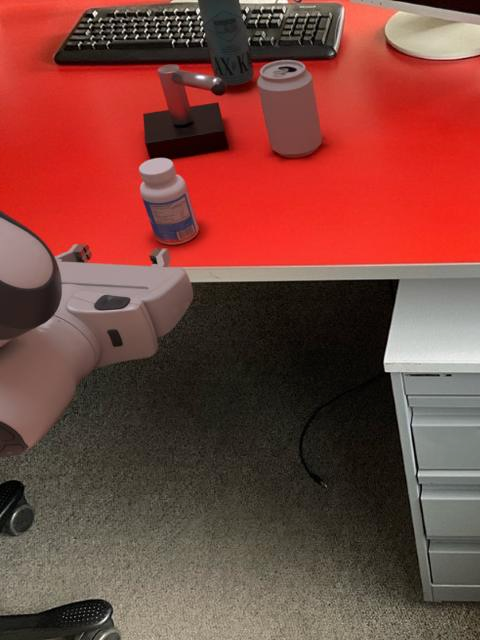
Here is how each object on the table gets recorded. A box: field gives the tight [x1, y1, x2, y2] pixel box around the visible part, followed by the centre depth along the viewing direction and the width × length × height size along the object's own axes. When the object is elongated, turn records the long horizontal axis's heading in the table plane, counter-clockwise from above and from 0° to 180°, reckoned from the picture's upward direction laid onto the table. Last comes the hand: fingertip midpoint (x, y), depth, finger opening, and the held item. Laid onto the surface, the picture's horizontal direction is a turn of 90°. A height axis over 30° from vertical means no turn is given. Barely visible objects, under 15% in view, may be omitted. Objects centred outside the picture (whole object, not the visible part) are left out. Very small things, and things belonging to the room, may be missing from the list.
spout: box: [157, 64, 228, 125], centre depth 126 cm, size 3×11×8 cm, turn 66°
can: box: [256, 59, 323, 158], centre depth 126 cm, size 8×8×12 cm
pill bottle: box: [138, 158, 200, 246], centre depth 110 cm, size 6×5×10 cm
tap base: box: [142, 102, 230, 160], centre depth 131 cm, size 11×10×3 cm
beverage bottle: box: [197, 0, 255, 86], centre depth 140 cm, size 6×7×20 cm
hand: (123, 251), depth 101 cm, fingers open, 8 cm apart
